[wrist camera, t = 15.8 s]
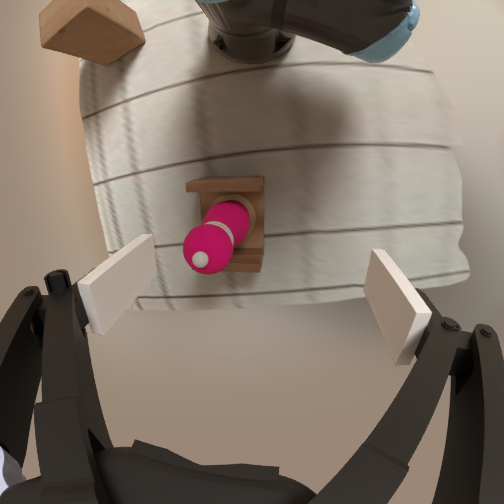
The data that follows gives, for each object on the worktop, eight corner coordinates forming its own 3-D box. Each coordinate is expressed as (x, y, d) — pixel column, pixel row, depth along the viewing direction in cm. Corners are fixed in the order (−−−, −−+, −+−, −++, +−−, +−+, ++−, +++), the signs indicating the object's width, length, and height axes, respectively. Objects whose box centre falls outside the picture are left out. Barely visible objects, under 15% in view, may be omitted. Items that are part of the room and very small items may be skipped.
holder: (201, 177, 47) (185, 183, 39) (263, 176, 46) (259, 181, 38) (205, 251, 52) (192, 269, 44) (263, 253, 51) (260, 272, 43)
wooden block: (147, 41, 38) (87, 6, 19) (107, 67, 40) (40, 48, 21) (136, 11, 35) (81, -25, 16) (98, 36, 37) (38, 13, 18)
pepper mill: (224, 243, 49) (189, 301, 31) (204, 209, 47) (155, 248, 29) (260, 226, 47) (244, 277, 29) (239, 189, 45) (208, 217, 27)
